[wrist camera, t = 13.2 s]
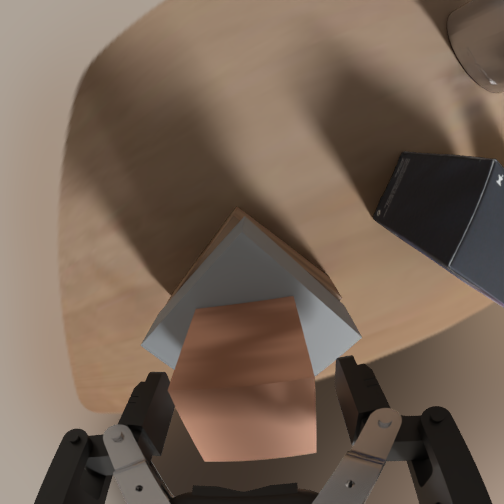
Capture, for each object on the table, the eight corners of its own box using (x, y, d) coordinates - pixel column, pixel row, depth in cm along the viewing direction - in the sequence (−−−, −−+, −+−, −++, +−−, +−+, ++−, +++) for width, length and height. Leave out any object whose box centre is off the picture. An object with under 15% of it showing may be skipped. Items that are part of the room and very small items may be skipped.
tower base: (237, 205, 21) (233, 215, 17) (328, 275, 23) (341, 297, 19) (172, 294, 23) (158, 318, 20) (258, 350, 25) (259, 380, 21)
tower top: (244, 215, 17) (241, 231, 14) (343, 305, 19) (362, 337, 15) (159, 313, 19) (140, 345, 16) (255, 381, 21) (255, 418, 17)
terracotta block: (293, 295, 14) (314, 376, 9) (300, 370, 16) (316, 452, 10) (195, 308, 15) (167, 390, 9) (216, 379, 16) (204, 461, 11)
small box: (367, 222, 21) (444, 271, 11) (400, 148, 19) (494, 149, 9) (451, 271, 22) (524, 325, 12) (480, 210, 21) (562, 241, 11)
